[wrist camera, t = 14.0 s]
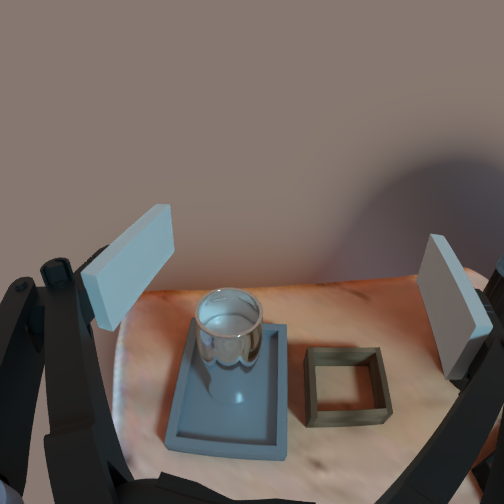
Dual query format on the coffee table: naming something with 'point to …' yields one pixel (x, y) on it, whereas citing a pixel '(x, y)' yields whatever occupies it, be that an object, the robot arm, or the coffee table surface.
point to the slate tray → (232, 406)
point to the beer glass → (229, 342)
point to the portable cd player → (483, 471)
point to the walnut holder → (346, 358)
